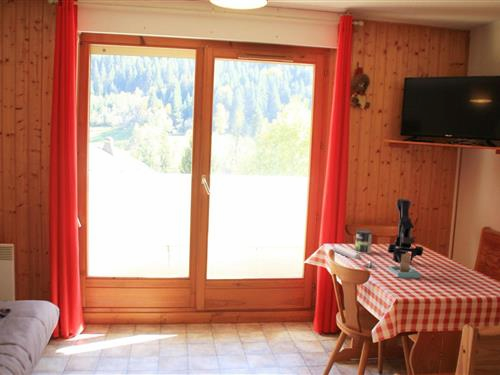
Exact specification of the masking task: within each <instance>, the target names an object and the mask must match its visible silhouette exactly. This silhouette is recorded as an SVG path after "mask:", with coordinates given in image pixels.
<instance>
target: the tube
mask: <svg viewBox="0 0 500 375" xmlns="http://www.w3.org/2000/svg"><path fill="white" fill-rule="evenodd" d="M333 249H334V250H333ZM332 250H333V252H335V251H336V253H338V254H339V255H342V256H344V257H346V256H347V257H346V258H352V259H356V260H359V259H361V254H360V253H357V252H355V250H351V249H349V248H347V247H346V246H345V247H344V246H342V245H340V244H339V243H337V244H334V245H333V248H332Z"/></svg>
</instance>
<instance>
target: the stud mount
mask: <svg viewBox="0 0 500 375" xmlns="http://www.w3.org/2000/svg"><path fill="white" fill-rule="evenodd" d="M362 267H364V268H365V269H367V270H368V269H370V270H371V269H375V270H378V269H379V268H378V267H376V266H375V265H373V262H372V261H368V263H367V264H365V265H364V264H362Z"/></svg>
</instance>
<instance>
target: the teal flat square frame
mask: <svg viewBox="0 0 500 375" xmlns="http://www.w3.org/2000/svg"><path fill="white" fill-rule="evenodd" d="M397 270H398V271H397ZM388 271H391V272H392V273H393V274H395V275H396V278H397V279H421V272H420V271H418V270H417V269H415V268H412V266H409V273H400V266H392V265H391V266H390V265H389V266H388Z"/></svg>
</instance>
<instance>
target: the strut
mask: <svg viewBox="0 0 500 375" xmlns="http://www.w3.org/2000/svg"><path fill="white" fill-rule="evenodd" d="M410 258H411V254H409V253H406V254H401V262H399V263H400V266H399V267H400V270H399V273H410V270H409V267H410V265H411V263H410Z"/></svg>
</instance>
